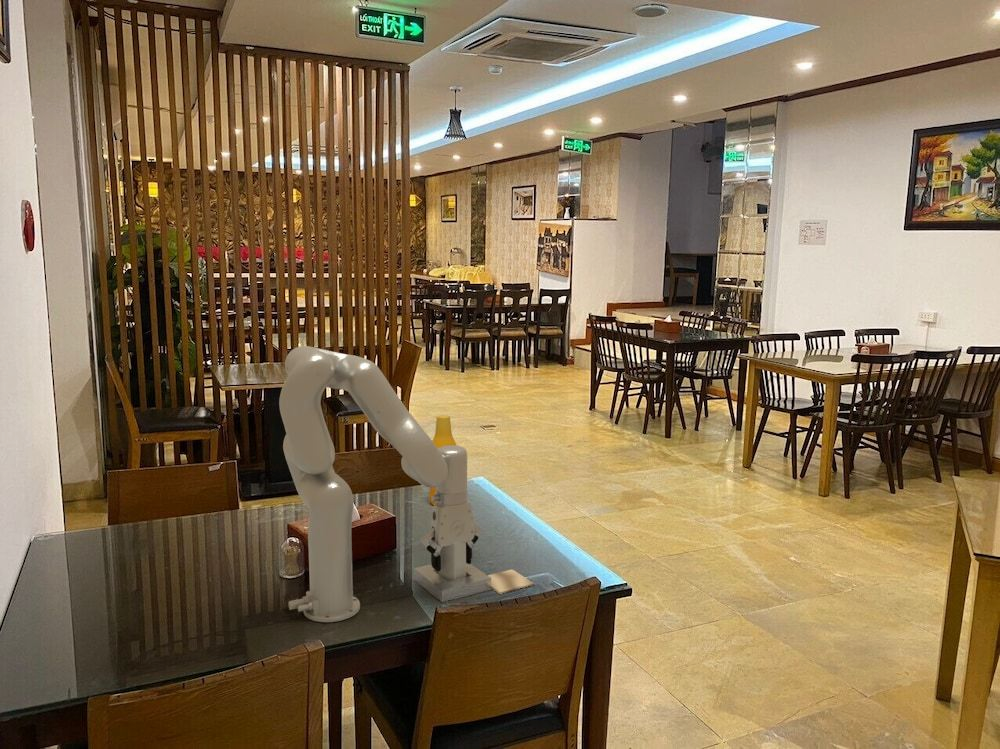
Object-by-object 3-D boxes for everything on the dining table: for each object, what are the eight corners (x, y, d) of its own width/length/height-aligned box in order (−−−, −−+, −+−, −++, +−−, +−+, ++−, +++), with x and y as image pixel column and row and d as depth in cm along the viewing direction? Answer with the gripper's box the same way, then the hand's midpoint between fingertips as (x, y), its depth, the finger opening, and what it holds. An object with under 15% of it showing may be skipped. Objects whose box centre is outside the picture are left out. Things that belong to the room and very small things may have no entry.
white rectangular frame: (441, 602, 178) (441, 590, 178) (413, 579, 191) (413, 568, 190) (491, 589, 185) (491, 577, 185) (460, 568, 198) (460, 557, 197)
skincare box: (466, 585, 187) (466, 539, 186) (454, 591, 184) (454, 543, 182) (449, 578, 191) (449, 532, 190) (437, 583, 188) (436, 537, 187)
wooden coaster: (499, 594, 182) (499, 592, 182) (478, 579, 191) (478, 577, 191) (534, 585, 188) (534, 583, 188) (511, 571, 196) (511, 569, 196)
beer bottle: (426, 506, 246) (425, 418, 242) (433, 497, 256) (433, 413, 251) (454, 508, 245) (454, 420, 241) (460, 499, 254) (460, 414, 250)
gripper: (426, 507, 177) (427, 579, 179) (490, 495, 186) (490, 563, 189) (412, 498, 183) (413, 568, 186) (474, 487, 192) (474, 553, 195)
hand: (451, 565), depth 187 cm, fingers open, 7 cm apart
